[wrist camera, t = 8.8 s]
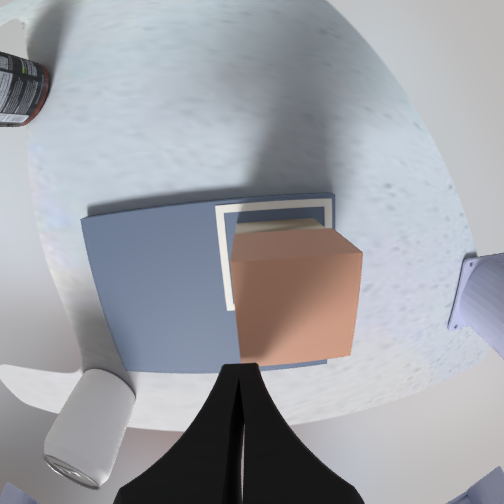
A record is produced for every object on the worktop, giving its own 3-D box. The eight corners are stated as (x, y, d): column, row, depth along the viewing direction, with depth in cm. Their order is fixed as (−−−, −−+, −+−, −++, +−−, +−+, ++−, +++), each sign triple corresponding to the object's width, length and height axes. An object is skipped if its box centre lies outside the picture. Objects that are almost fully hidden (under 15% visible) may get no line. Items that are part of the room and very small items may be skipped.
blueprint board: (330, 192, 18) (335, 194, 17) (324, 356, 22) (326, 364, 21) (86, 216, 18) (79, 219, 17) (129, 363, 22) (125, 371, 21)
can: (146, 408, 25) (118, 498, 13) (100, 405, 25) (67, 482, 13) (120, 366, 23) (74, 463, 11) (74, 365, 23) (24, 444, 11)
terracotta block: (332, 228, 14) (363, 252, 10) (328, 312, 15) (350, 355, 11) (234, 234, 14) (230, 261, 10) (242, 320, 15) (241, 367, 11)
